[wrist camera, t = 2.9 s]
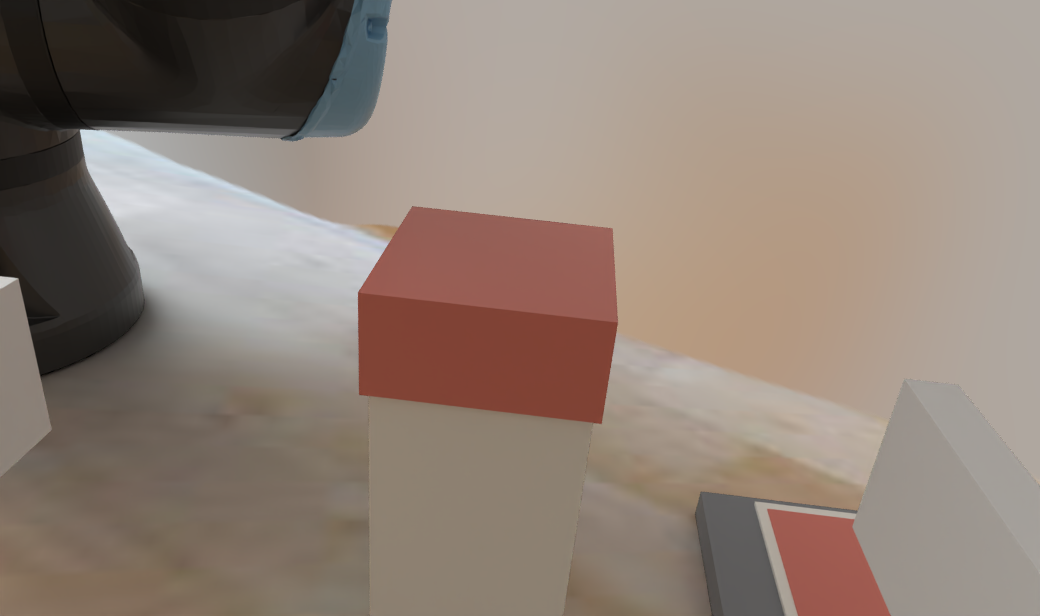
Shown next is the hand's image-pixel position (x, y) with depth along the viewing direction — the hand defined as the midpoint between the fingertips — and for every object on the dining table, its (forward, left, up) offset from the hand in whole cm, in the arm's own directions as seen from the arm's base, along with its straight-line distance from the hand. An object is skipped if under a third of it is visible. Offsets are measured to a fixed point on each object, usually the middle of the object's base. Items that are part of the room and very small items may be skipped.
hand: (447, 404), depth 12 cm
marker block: (-10, 0, -15) cm, 18 cm away
